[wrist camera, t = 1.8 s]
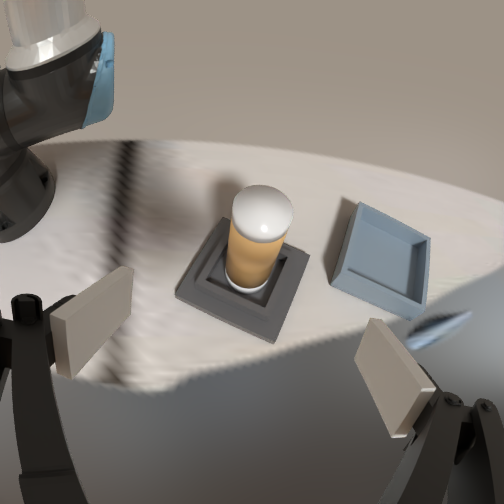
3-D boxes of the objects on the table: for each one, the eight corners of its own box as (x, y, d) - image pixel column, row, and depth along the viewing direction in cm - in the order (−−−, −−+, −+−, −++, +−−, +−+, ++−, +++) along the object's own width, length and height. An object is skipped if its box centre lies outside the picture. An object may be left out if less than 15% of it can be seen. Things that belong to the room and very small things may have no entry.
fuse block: (175, 297, 33) (173, 288, 31) (222, 221, 39) (223, 209, 37) (273, 344, 32) (278, 338, 29) (307, 259, 38) (313, 248, 36)
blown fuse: (217, 282, 33) (222, 216, 23) (236, 248, 36) (248, 177, 26) (258, 301, 33) (281, 242, 23) (274, 265, 35) (301, 199, 25)
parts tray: (330, 285, 36) (340, 272, 33) (350, 216, 43) (359, 201, 40) (409, 321, 35) (424, 311, 32) (418, 250, 41) (430, 238, 38)
